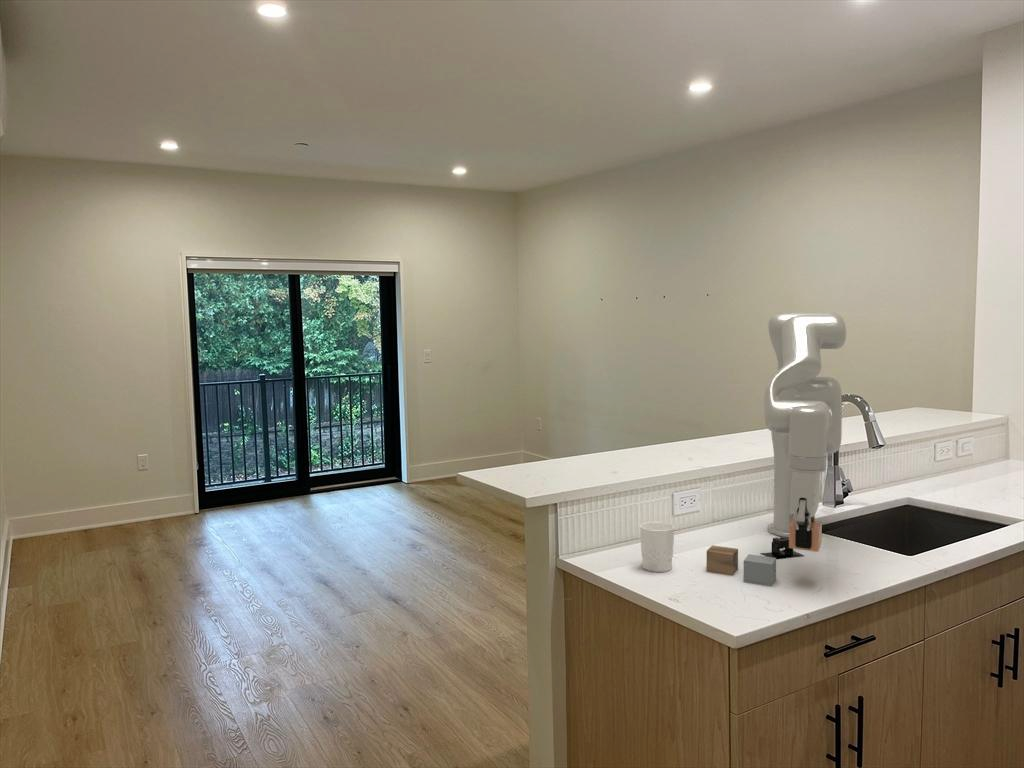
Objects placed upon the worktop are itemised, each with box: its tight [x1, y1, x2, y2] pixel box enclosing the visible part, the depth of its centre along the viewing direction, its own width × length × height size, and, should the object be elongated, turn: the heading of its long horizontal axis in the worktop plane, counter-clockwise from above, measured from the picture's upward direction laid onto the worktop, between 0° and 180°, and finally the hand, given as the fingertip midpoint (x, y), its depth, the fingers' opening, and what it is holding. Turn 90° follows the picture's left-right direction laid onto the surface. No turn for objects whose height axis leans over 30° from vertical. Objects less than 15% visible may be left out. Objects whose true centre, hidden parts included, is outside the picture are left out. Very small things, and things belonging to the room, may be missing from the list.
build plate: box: [759, 536, 805, 561], centre depth 182 cm, size 12×7×5 cm, turn 107°
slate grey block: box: [742, 553, 777, 587], centre depth 164 cm, size 5×6×5 cm
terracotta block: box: [788, 520, 823, 553], centre depth 162 cm, size 5×6×5 cm
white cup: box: [639, 521, 675, 573], centre depth 174 cm, size 8×8×10 cm
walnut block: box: [705, 544, 739, 577], centre depth 171 cm, size 5×6×5 cm
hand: (805, 543), depth 162 cm, fingers closed on terracotta block, 5 cm apart
